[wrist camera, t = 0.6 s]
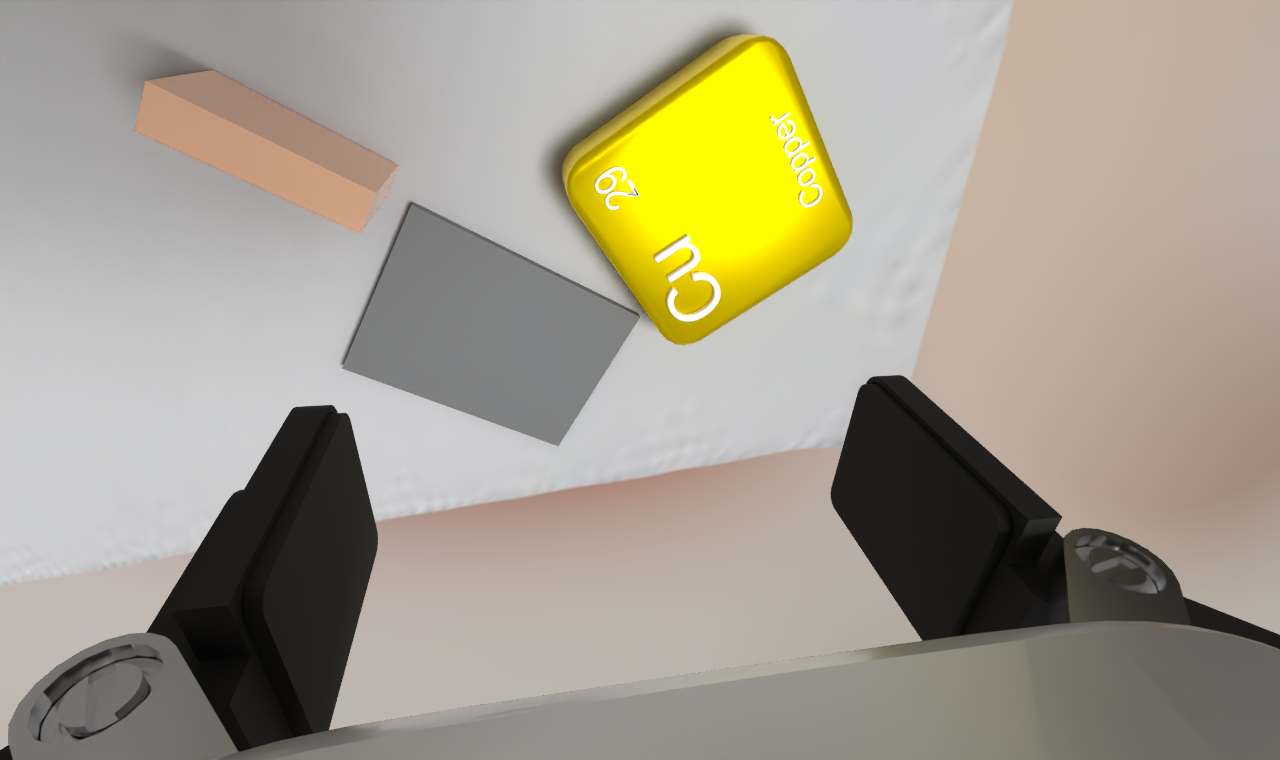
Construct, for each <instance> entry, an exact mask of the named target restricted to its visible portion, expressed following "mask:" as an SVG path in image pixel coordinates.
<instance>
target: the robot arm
mask: <svg viewBox="0 0 1280 760" xmlns="http://www.w3.org/2000/svg"><path fill="white" fill-rule="evenodd" d="M831 500H832V504H833V507H834V508H835V510H836V512H837V513H838V515H839V516H840V517H841V519H842V521H843V522H844V524H845V525H846V527H847V528H848V530H849V531H850V533H851V534H852V536H853V537H854V539H855V540H856V542H857V543H858V545H859V546H860V548H861V549H862V550H863V552H864V554H865V555H866V557H867V558H868V560H869V561H870V563H871V564H872V566H873V567H874V569H875V570H876V572H877V573H878V575H879V576H880V578H881V579H882V580H883V582H884V584H885V585H886V586H887V588H888V590H889V591H890V593H891V594H892V596H893V597H894V599H895V600H896V602H897V603H898V605H899V606H900V608H901V609H902V611H903V612H904V614H905V615H906V617H907V618H908V620H909V621H910V623H911V624H912V626H913V627H914V629H915V630H916V632H917V633H918V635H919V636H920V638H921V639H922V641H920V642H912V643H905V644H897V645H890V646H883V647H876V648H868V649H861V650H854V651H846V652H839V653H832V654H825V655H819V656H811V657H804V658H797V659H790V660H783V661H776V662H769V663H762V664H755V665H748V666H741V667H734V668H727V669H720V670H714V671H706V672H699V673H692V674H685V675H678V676H671V677H664V678H658V679H651V680H644V681H637V682H631V683H624V684H617V685H610V686H604V687H597V688H590V689H583V690H576V691H570V692H563V693H557V694H550V695H543V696H536V697H529V698H523V699H516V700H509V701H503V702H496V703H490V704H482V705H476V706H469V707H463V708H457V709H451V710H445V711H440V712H433V713H427V714H421V715H415V716H409V717H403V718H397V719H390V720H384V721H378V722H373V723H366V724H361V725H354V726H348V727H343V728H338V729H334V730H329V727H330V723H331V720H332V716H333V712H334V708H335V704H336V701H337V697H338V693H339V690H340V686H341V682H342V679H343V675H344V671H345V668H346V664H347V660H348V656H349V653H350V649H351V645H352V642H353V638H354V634H355V630H356V627H357V623H358V619H359V615H360V612H361V608H362V604H363V600H364V596H365V593H366V589H367V586H368V582H369V578H370V574H371V571H372V567H373V563H374V560H375V556H376V552H377V545H378V535H377V528H376V524H375V520H374V516H373V512H372V508H371V503H370V499H369V495H368V491H367V487H366V483H365V479H364V475H363V471H362V466H361V462H360V458H359V454H358V450H357V446H356V442H355V438H354V434H353V430H352V425H351V421H350V418H349V416H348V414H346V413H337V410H336V409H335V407H334V406H332V405H324V406H305V407H295V408H293V409H292V410H291V412H290V413H289V415H288V417H287V418H286V420H285V422H284V423H283V425H282V427H281V428H280V430H279V432H278V433H277V435H276V437H275V438H274V440H273V442H272V443H271V445H270V447H269V448H268V450H267V452H266V454H265V455H264V457H263V459H262V460H261V462H260V464H259V465H258V467H257V469H256V470H255V472H254V474H253V475H252V477H251V479H250V480H249V482H248V484H247V485H246V487H245V489H244V490H239V491H237V492H235V493H234V494H233V495H232V496H231V497H230V498H229V500H228V501H227V503H226V504H225V506H224V507H223V509H222V511H221V512H220V514H219V516H218V517H217V519H216V520H215V522H214V524H213V525H212V527H211V529H210V530H209V532H208V533H207V535H206V537H205V538H204V540H203V541H202V543H201V545H200V546H199V548H198V550H197V551H196V553H195V554H194V556H193V558H192V559H191V561H190V563H189V564H188V566H187V567H186V569H185V571H184V572H183V574H182V576H181V577H180V579H179V580H178V582H177V584H176V586H175V587H174V589H173V590H172V592H171V594H170V595H169V597H168V599H167V600H166V602H165V603H164V605H163V606H162V608H161V610H160V611H159V613H158V615H157V616H156V618H155V620H154V621H153V623H152V625H151V626H150V628H149V629H148V631H147V632H146V633H136V634H127V635H123V636H119V637H116V638H112V639H108V640H105V641H103V642H100V643H98V644H96V645H94V646H91V647H89V648H87V649H85V650H82V651H80V652H79V653H77V654H76V655H74V656H72V657H71V658H69V659H68V660H66V661H64V662H63V663H61V664H59V665H58V666H56V667H55V668H54V669H53V670H52V671H50V672H49V673H48V674H47V675H46V676H45V677H43V679H41V680H40V681H39V682H38V683H36V684H35V685H34V686H33V688H32V689H31V690H30V691H29V692H28V694H27V695H26V696H25V697H24V699H23V700H22V701H21V702H20V703H19V704H18V706H17V708H16V710H15V712H14V715H13V717H12V719H11V721H10V723H9V729H8V744H9V745H8V746H6V747H5V748H3V749H2V750H0V760H1280V635H1278V634H1276V633H1274V632H1271V631H1269V630H1266V629H1263V628H1261V627H1258V626H1256V625H1253V624H1251V623H1248V622H1246V621H1243V620H1241V619H1238V618H1235V617H1233V616H1230V615H1228V614H1225V613H1223V612H1220V611H1218V610H1215V609H1213V608H1210V607H1208V606H1205V605H1203V604H1200V603H1198V602H1195V601H1192V600H1190V599H1187V598H1185V597H1183V594H1182V591H1181V588H1180V584H1179V582H1178V580H1177V578H1176V576H1175V575H1174V573H1173V571H1172V570H1171V569H1170V568H1169V567H1168V566H1167V565H1166V564H1165V563H1164V562H1163V561H1162V560H1161V559H1160V558H1158V557H1157V556H1156V555H1154V554H1153V553H1152V552H1150V551H1149V550H1148V549H1146V548H1144V547H1142V546H1141V545H1139V544H1137V543H1135V542H1133V541H1132V540H1130V539H1127V538H1124V537H1122V536H1120V535H1117V534H1114V533H1111V532H1107V531H1104V530H1100V529H1092V528H1080V529H1075V530H1072V531H1070V532H1069V533H1068V534H1067V535H1065V537H1064V538H1063V537H1061V536H1060V535H1059V534H1058V533H1057V532H1056V531H1055V529H1056V527H1057V526H1058V524H1059V522H1060V520H1061V518H1062V516H1061V515H1060V514H1059V513H1057V512H1056V511H1055V510H1054V509H1053V508H1052V507H1051V506H1049V505H1048V504H1047V503H1046V502H1045V501H1044V500H1043V499H1042V498H1040V497H1039V496H1038V495H1037V494H1036V493H1035V492H1034V491H1033V490H1031V489H1030V488H1029V487H1028V486H1027V485H1026V484H1024V482H1023V481H1021V480H1020V479H1019V478H1018V477H1017V476H1016V475H1015V474H1013V473H1012V472H1011V471H1010V470H1009V469H1008V468H1007V467H1005V465H1003V464H1002V463H1001V462H1000V461H999V460H998V459H997V458H996V457H994V456H993V455H992V454H991V453H990V452H989V451H988V450H987V449H985V448H984V447H983V446H982V445H981V444H980V443H979V442H978V441H976V440H975V439H974V438H973V437H972V436H971V435H969V433H967V432H966V431H965V430H964V429H963V428H961V426H960V425H958V424H957V423H956V422H955V421H954V420H953V419H952V418H951V417H949V416H948V415H947V414H946V413H945V412H943V410H942V409H940V408H939V407H938V406H937V405H936V404H935V403H934V402H933V401H931V400H930V399H929V398H928V397H927V396H926V395H925V394H924V393H922V392H921V391H920V390H919V389H918V388H917V387H916V386H915V385H913V384H912V383H911V382H910V381H909V380H908V379H907V378H905V377H904V376H900V375H895V376H876V377H872V378H870V379H869V380H868V381H867V383H866V384H864V385H862V386H861V387H860V389H859V391H858V394H857V398H856V402H855V405H854V409H853V412H852V416H851V420H850V423H849V427H848V430H847V434H846V438H845V441H844V445H843V448H842V452H841V456H840V459H839V463H838V466H837V470H836V474H835V477H834V481H833V484H832V488H831Z"/></svg>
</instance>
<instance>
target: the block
mask: <svg viewBox="0 0 1280 760" xmlns="http://www.w3.org/2000/svg"><path fill="white" fill-rule="evenodd" d="M135 132H138V133H140V134H142V135H144V136H146V137H149V138H151V139H153V140H155V141H157V142H160V143H162V144H164V145H166V146H168V147H171V148H173V149H175V150H177V151H179V152H182V153H184V154H186V155H188V156H190V157H193V158H195V159H197V160H199V161H201V162H204V163H206V164H208V165H210V166H212V167H215V168H217V169H219V170H221V171H223V172H226V173H228V174H230V175H232V176H234V177H237V178H239V179H241V180H243V181H245V182H248V183H250V184H252V185H254V186H256V187H259V188H261V189H263V190H265V191H267V192H270V193H272V194H274V195H276V196H278V197H281V198H283V199H285V200H287V201H289V202H292V203H294V204H296V205H298V206H300V207H303V208H305V209H307V210H309V211H311V212H314V213H316V214H318V215H320V216H322V217H325V218H327V219H329V220H331V221H333V222H336V223H338V224H340V225H342V226H344V227H347V228H349V229H351V230H353V231H355V232H358V233H361V232H362V231H363V229H364V228H365V227H366V225H367V224H368V222H369V221H370V220H371V218H372V217H373V216H374V214H375V213H376V212H377V210H378V209H379V207H380V206H381V205H382V203H383V202H384V201H385V198H386V196H387V193H388V191H389V188H390V186H391V183H392V181H393V178H394V176H395V173H396V171H397V169H398V166H399V165H397V164H395V163H393V162H391V161H389V160H388V159H386V158H384V157H382V156H380V155H378V154H376V153H374V152H372V151H370V150H368V149H366V148H364V147H362V146H360V145H358V144H356V143H354V142H353V141H351V140H349V139H347V138H345V137H343V136H341V135H339V134H337V133H335V132H333V131H331V130H329V129H327V128H325V127H323V126H321V125H319V124H318V123H316V122H314V121H312V120H310V119H308V118H306V117H304V116H302V115H300V114H298V113H296V112H294V111H292V110H290V109H288V108H286V107H284V106H282V105H281V104H279V103H277V102H275V101H273V100H271V99H269V98H267V97H265V96H263V95H261V94H259V93H257V92H255V91H253V90H251V89H249V88H247V87H246V86H244V85H242V84H240V83H238V82H236V81H234V80H232V79H230V78H228V77H226V76H224V75H222V74H220V73H218V72H216V71H214V70H209V71H203V72H196V73H190V74H183V75H177V76H171V77H164V78H158V79H151V80H145V85H144V89H143V94H142V98H141V103H140V108H139V112H138V117H137V121H136V126H135Z"/></svg>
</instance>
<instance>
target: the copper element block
mask: <svg viewBox="0 0 1280 760" xmlns="http://www.w3.org/2000/svg"><path fill="white" fill-rule="evenodd" d="M562 177H563V182H564V186H565V189H566V193H567V196H568V199H569V201H570V203H571V205H572V207H573V209H574V210H575V212H576V213H577V214H578V216H579V217H580V219H581V220H582V222H583V223H584V224H585V226H586V227H587V229H588V230H589V232H590V233H591V234H592V236H593V237H594V239H595V240H596V242H597V243H598V245H599V246H600V247H601V249H602V250H603V252H604V253H605V255H606V256H607V257H608V259H609V260H610V262H611V263H612V265H613V266H614V267H615V269H616V270H617V272H618V273H619V275H620V276H621V277H622V279H623V280H624V282H625V283H626V285H627V286H628V288H629V289H630V290H631V292H632V293H633V295H634V296H635V298H636V299H637V300H638V302H639V303H640V305H641V306H642V308H643V309H644V310H645V312H646V313H647V315H648V316H649V318H650V319H651V320H652V322H653V323H654V325H655V326H656V328H657V329H658V331H659V332H660V333H661V334H662V335H663V336H664V337H665V338H666V339H667V340H669V341H671V342H672V343H674V344H679V345H687V344H691V343H695V342H697V341H700V340H701V339H703V338H705V337H706V336H708V335H709V334H711V333H713V332H714V331H716V330H717V329H719V328H720V327H722V326H724V325H725V324H727V323H728V322H730V321H731V320H733V319H735V318H736V317H738V316H739V315H741V314H743V313H744V312H746V311H747V310H749V309H750V308H752V307H754V306H755V305H757V304H758V303H760V302H761V301H763V300H765V299H766V298H768V297H769V296H771V295H772V294H774V293H776V292H777V291H779V290H780V289H782V288H784V287H785V286H787V285H788V284H790V283H791V282H793V281H795V280H796V279H798V278H799V277H801V276H802V275H804V274H806V273H807V272H809V271H810V270H812V269H813V268H815V267H817V266H818V265H820V264H821V263H823V262H825V261H826V260H828V259H829V258H831V257H832V256H834V255H835V254H836V253H838V252H839V251H840V250H841V249H842V248H843V247H844V245H845V244H846V243H847V242H848V240H849V238H850V235H851V233H852V225H853V219H852V215H851V211H850V208H849V206H848V203H847V201H846V198H845V196H844V193H843V190H842V188H841V185H840V183H839V180H838V178H837V175H836V173H835V170H834V168H833V165H832V163H831V160H830V158H829V155H828V153H827V150H826V148H825V145H824V143H823V140H822V138H821V135H820V133H819V130H818V128H817V125H816V123H815V120H814V118H813V115H812V113H811V110H810V107H809V105H808V102H807V100H806V97H805V95H804V92H803V90H802V87H801V85H800V82H799V80H798V77H797V75H796V72H795V70H794V67H793V65H792V62H791V60H790V57H789V55H788V54H787V52H786V51H785V49H784V47H783V46H782V45H780V44H779V43H778V42H777V41H776V40H775V39H774V38H771V37H767V36H764V35H751V34H739V35H734V36H729V37H727V38H725V39H723V40H721V41H720V42H718V43H717V44H715V45H714V46H713V47H711V48H710V49H708V50H707V51H706V52H704V53H703V54H701V55H700V56H699V57H697V58H696V59H695V60H693V61H692V62H690V63H689V64H688V65H686V66H685V67H683V68H682V69H681V70H679V71H678V72H676V73H675V74H674V75H672V76H671V77H669V78H668V79H667V80H665V81H664V82H662V83H661V84H660V85H658V86H657V87H655V88H654V89H653V90H651V91H650V92H648V93H647V94H646V95H644V96H643V97H642V98H640V99H639V100H637V101H636V102H635V103H633V104H632V105H630V106H629V107H628V108H626V109H625V110H623V111H622V112H621V113H619V114H618V115H616V116H615V117H614V118H612V119H611V120H609V121H608V122H607V123H605V124H604V125H602V126H601V127H600V128H598V129H597V130H595V131H594V132H593V133H591V134H590V135H589V136H587V137H586V138H584V139H583V140H582V141H580V142H579V143H577V144H576V145H575V146H574V147H573V148H572V149H571V150H570V151H569V153H568V154H567V156H566V158H565V160H564V161H563V167H562Z"/></svg>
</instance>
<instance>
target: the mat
mask: <svg viewBox="0 0 1280 760" xmlns="http://www.w3.org/2000/svg"><path fill="white" fill-rule="evenodd" d="M639 318H640V316H639V314H638V313H636V312H634V311H632V310H630V309H628V308H626V307H624V306H622V305H620V304H618V303H616V302H614V301H612V300H610V299H608V298H606V297H604V296H602V295H600V294H598V293H596V292H594V291H592V290H590V289H588V288H586V287H584V286H582V285H579V284H577V283H575V282H573V281H571V280H569V279H567V278H565V277H563V276H561V275H559V274H557V273H555V272H553V271H551V270H549V269H547V268H545V267H543V266H541V265H539V264H537V263H535V262H533V261H531V260H529V259H527V258H525V257H523V256H521V255H519V254H517V253H515V252H513V251H511V250H509V249H506V248H504V247H502V246H500V245H498V244H496V243H494V242H492V241H490V240H488V239H486V238H484V237H482V236H480V235H478V234H476V233H474V232H472V231H470V230H468V229H466V228H464V227H462V226H460V225H458V224H456V223H454V222H452V221H450V220H448V219H446V218H444V217H442V216H440V215H438V214H436V213H434V212H431V211H429V210H427V209H425V208H423V207H421V206H419V205H417V204H415V203H412V204H411V207H410V209H409V211H408V214H407V216H406V218H405V221H404V223H403V226H402V228H401V230H400V233H399V235H398V237H397V240H396V242H395V244H394V247H393V249H392V252H391V254H390V256H389V259H388V261H387V263H386V266H385V268H384V270H383V273H382V275H381V278H380V280H379V282H378V285H377V287H376V289H375V292H374V294H373V296H372V299H371V301H370V304H369V306H368V308H367V311H366V313H365V315H364V318H363V320H362V322H361V325H360V327H359V330H358V332H357V334H356V337H355V339H354V341H353V344H352V346H351V348H350V351H349V353H348V356H347V358H346V360H345V363H344V365H343V367H342V368H343V369H345V370H348V371H351V372H354V373H357V374H359V375H362V376H365V377H368V378H370V379H373V380H376V381H379V382H382V383H384V384H387V385H390V386H393V387H395V388H398V389H401V390H404V391H407V392H409V393H412V394H415V395H418V396H421V397H423V398H426V399H429V400H432V401H434V402H437V403H440V404H443V405H446V406H448V407H451V408H454V409H457V410H459V411H462V412H465V413H468V414H471V415H473V416H476V417H479V418H482V419H484V420H487V421H490V422H493V423H496V424H498V425H501V426H504V427H507V428H510V429H512V430H515V431H518V432H521V433H523V434H526V435H529V436H532V437H535V438H537V439H540V440H543V441H546V442H548V443H551V444H554V445H557V446H559V444H560V442H561V441H562V439H563V438H564V436H565V435H566V433H567V431H568V430H569V428H570V427H571V425H572V424H573V422H574V420H575V419H576V417H577V416H578V414H579V412H580V411H581V409H582V408H583V406H584V405H585V403H586V401H587V400H588V398H589V397H590V395H591V394H592V392H593V390H594V389H595V387H596V386H597V384H598V382H599V381H600V379H601V378H602V376H603V375H604V373H605V371H606V370H607V368H608V367H609V365H610V364H611V362H612V360H613V359H614V357H615V356H616V354H617V353H618V351H619V349H620V348H621V346H622V345H623V343H624V341H625V340H626V338H627V337H628V335H629V334H630V332H631V330H632V329H633V327H634V326H635V324H636V323H637V321H638V319H639Z"/></svg>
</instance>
